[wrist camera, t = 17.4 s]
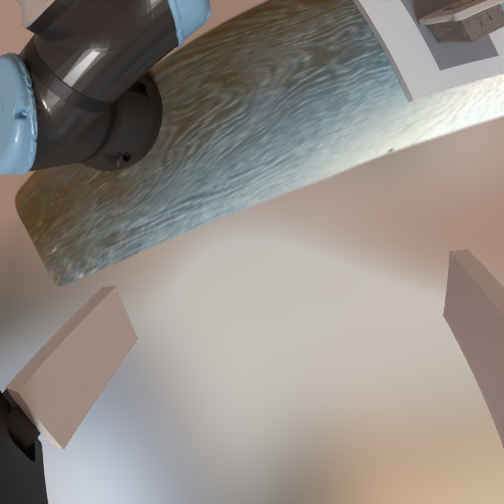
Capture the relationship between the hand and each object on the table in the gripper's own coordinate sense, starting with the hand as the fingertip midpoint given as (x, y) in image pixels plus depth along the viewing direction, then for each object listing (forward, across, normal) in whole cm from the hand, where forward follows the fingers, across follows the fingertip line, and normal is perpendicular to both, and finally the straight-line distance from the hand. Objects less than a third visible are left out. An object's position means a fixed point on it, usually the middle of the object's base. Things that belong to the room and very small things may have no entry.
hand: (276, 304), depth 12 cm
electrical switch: (+30, +24, +18) cm, 42 cm away
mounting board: (+32, +24, +18) cm, 44 cm away
